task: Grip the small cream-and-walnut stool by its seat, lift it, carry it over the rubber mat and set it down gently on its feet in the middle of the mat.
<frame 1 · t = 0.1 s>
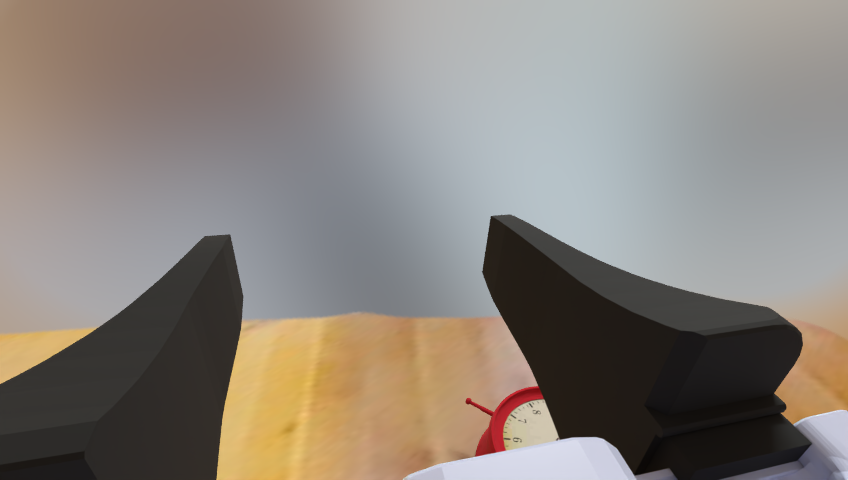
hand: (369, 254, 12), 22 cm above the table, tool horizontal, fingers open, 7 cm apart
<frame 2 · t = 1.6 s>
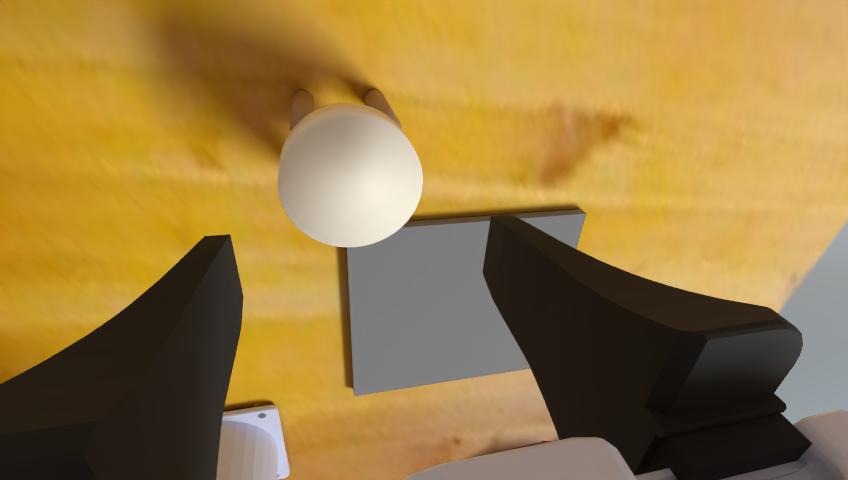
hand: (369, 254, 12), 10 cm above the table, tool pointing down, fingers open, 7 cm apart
mat: (459, 304, 28), on the table
stool: (340, 134, 21), on the table
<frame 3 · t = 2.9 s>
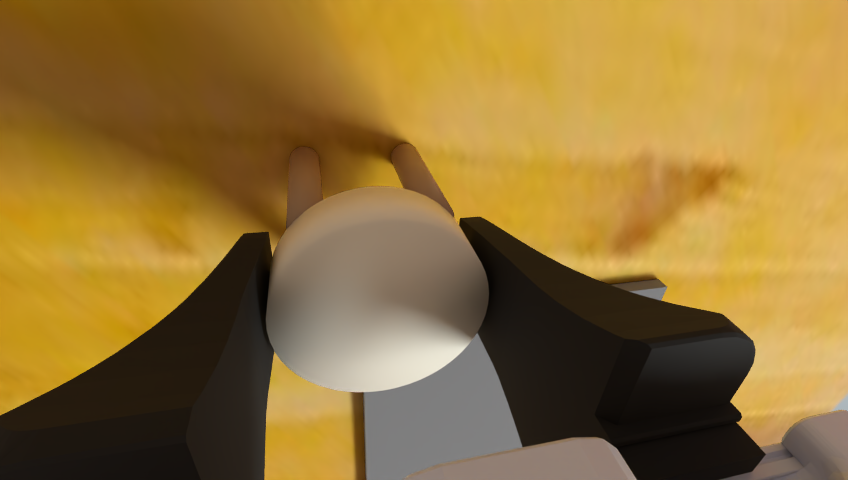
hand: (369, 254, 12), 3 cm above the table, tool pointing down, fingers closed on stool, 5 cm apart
mat: (500, 393, 23), on the table
stool: (357, 202, 15), on the table, touching gripper
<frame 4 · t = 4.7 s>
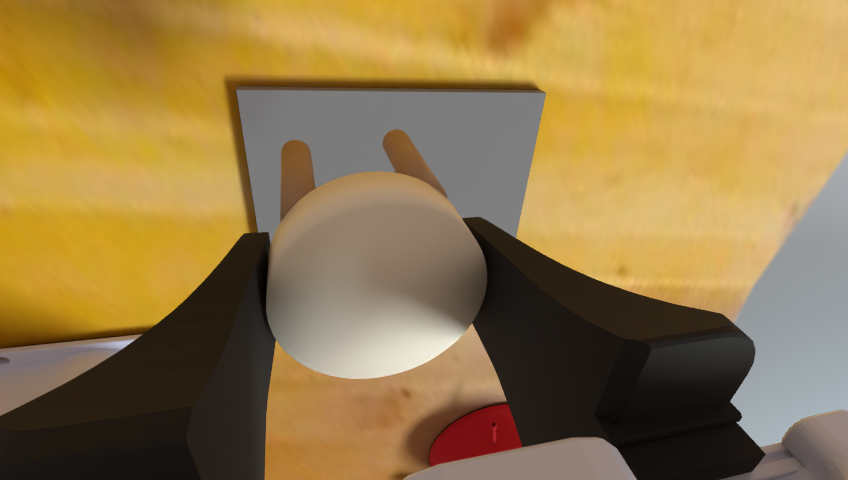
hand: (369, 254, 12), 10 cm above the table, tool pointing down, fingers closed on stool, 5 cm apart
mat: (396, 212, 24), on the table
stool: (352, 192, 15), point 7 cm above the table, touching gripper
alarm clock: (478, 450, 39), on the table
when the fingers open (5 cm above the table, at t = 6.9 s): stool stays where it is, resting on mat.
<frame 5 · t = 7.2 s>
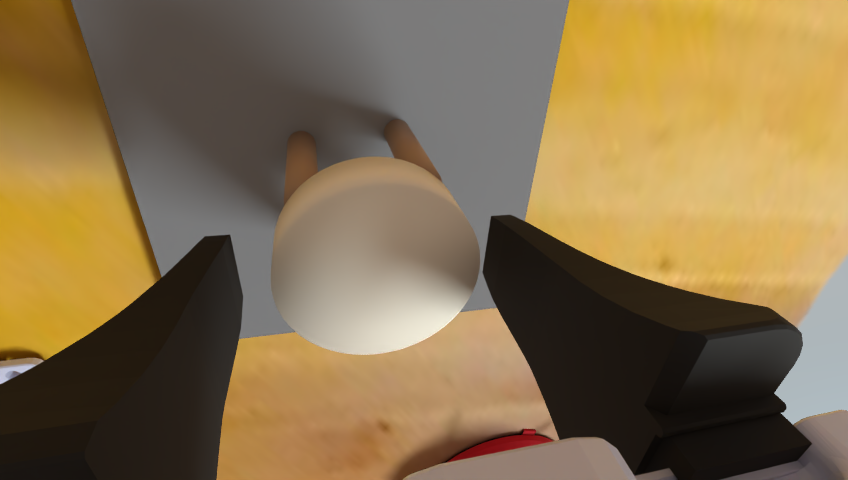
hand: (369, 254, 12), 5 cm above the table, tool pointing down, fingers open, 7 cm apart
mat: (352, 182, 16), on the table
stool: (356, 181, 16), point 1 cm above the table, touching mat
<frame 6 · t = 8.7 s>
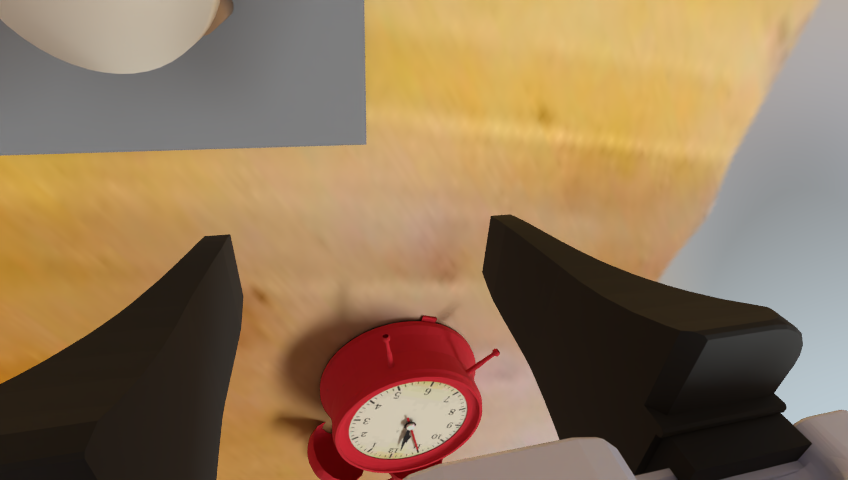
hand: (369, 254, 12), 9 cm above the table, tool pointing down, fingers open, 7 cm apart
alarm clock: (389, 389, 31), on the table
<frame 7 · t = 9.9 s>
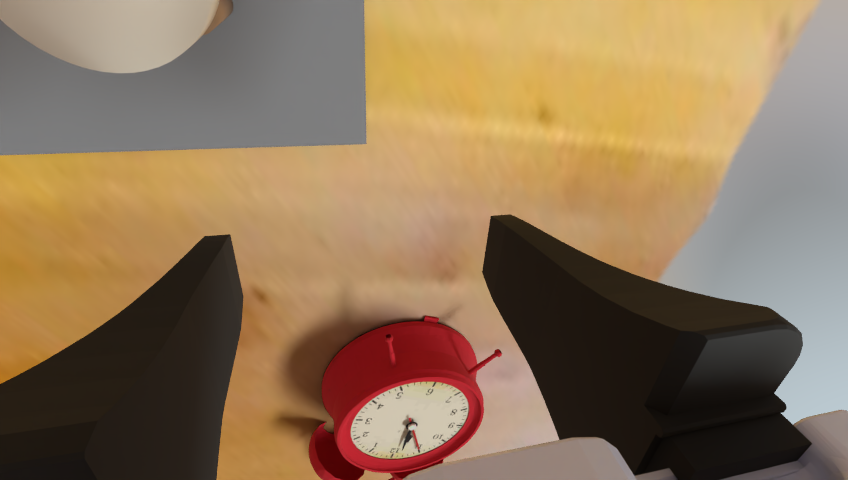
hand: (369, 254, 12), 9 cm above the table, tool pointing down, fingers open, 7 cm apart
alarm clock: (391, 389, 31), on the table
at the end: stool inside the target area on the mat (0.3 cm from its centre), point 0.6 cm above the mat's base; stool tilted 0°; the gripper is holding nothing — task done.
